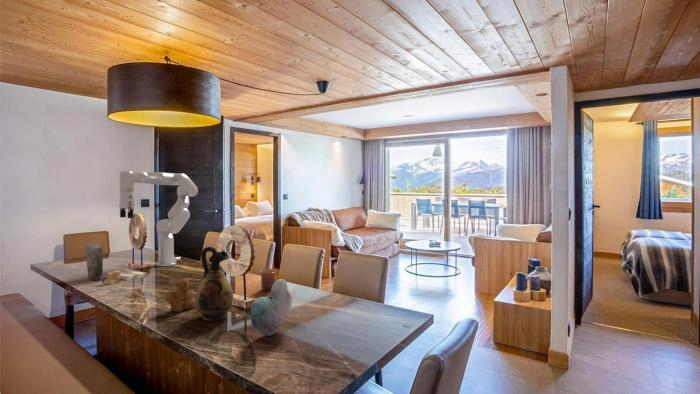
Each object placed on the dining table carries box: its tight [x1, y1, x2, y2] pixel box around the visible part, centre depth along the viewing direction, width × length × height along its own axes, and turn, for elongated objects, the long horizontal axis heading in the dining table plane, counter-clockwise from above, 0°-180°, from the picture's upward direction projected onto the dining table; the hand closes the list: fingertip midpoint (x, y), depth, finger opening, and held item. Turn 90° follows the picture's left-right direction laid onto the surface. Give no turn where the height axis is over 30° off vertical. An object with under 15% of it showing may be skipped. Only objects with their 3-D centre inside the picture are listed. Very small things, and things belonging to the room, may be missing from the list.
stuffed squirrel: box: [164, 278, 196, 313], centre depth 163 cm, size 10×14×13 cm
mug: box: [259, 268, 277, 292], centre depth 194 cm, size 12×9×10 cm
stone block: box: [85, 243, 104, 282], centre depth 214 cm, size 13×7×20 cm, turn 54°
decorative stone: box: [250, 278, 293, 337], centre depth 136 cm, size 21×9×20 cm, turn 151°
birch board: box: [110, 268, 147, 281], centre depth 221 cm, size 11×22×2 cm, turn 57°
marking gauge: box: [100, 270, 121, 285], centre depth 204 cm, size 9×4×6 cm, turn 147°
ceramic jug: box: [194, 245, 234, 322], centre depth 154 cm, size 17×15×30 cm
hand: (126, 217), depth 226 cm, fingers open, 9 cm apart
